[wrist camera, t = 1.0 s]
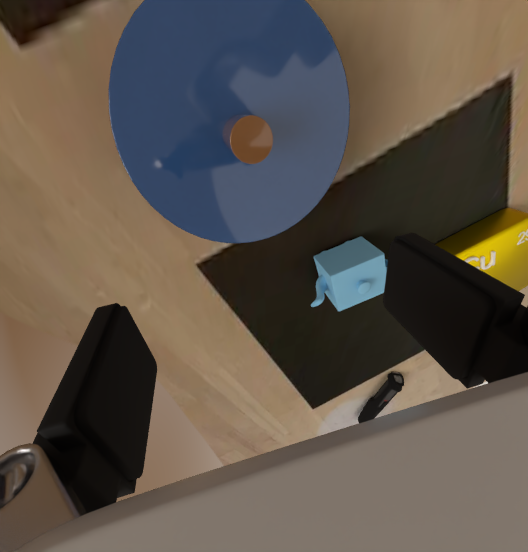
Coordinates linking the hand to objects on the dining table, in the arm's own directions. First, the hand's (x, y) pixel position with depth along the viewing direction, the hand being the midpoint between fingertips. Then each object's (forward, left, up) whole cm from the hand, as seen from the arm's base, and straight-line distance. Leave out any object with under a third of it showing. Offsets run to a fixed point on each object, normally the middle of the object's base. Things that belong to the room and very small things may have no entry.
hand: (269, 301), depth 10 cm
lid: (-2, -4, -17) cm, 18 cm away
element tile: (-36, +24, -25) cm, 50 cm away
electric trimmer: (-20, +54, -25) cm, 63 cm away
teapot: (-12, +16, -25) cm, 32 cm away
